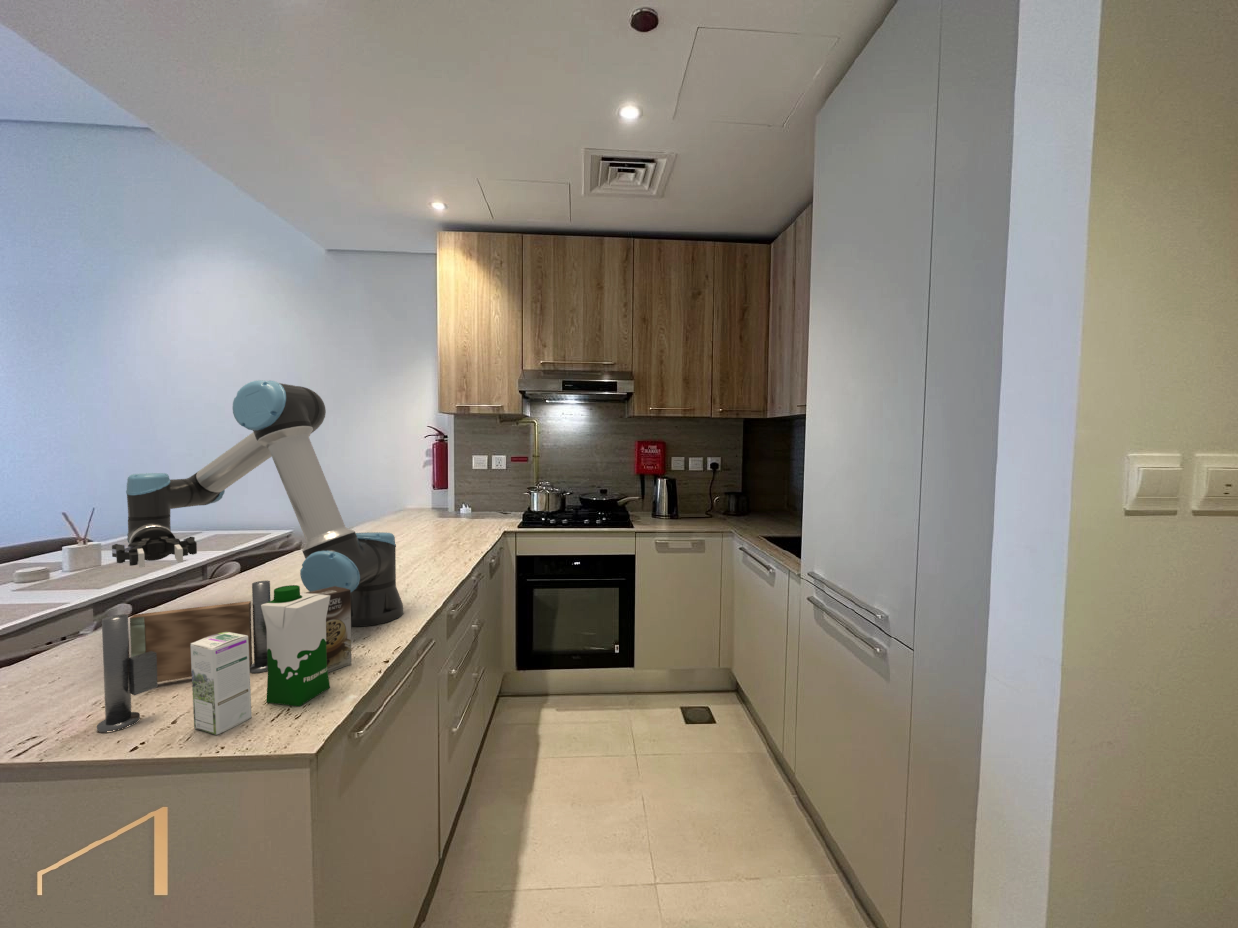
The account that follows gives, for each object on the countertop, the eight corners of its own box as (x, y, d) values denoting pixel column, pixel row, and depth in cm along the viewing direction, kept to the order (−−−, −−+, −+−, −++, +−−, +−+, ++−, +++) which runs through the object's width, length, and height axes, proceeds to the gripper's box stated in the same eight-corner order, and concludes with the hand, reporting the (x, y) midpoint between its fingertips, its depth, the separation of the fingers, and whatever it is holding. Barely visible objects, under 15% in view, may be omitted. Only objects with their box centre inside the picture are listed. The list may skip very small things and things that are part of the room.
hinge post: (268, 660, 105) (266, 578, 104) (283, 664, 103) (281, 580, 102) (242, 670, 100) (240, 584, 99) (257, 675, 98) (255, 587, 97)
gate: (252, 662, 101) (250, 600, 101) (250, 666, 99) (248, 603, 99) (136, 681, 93) (134, 614, 93) (132, 686, 91) (129, 617, 91)
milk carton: (298, 681, 95) (296, 580, 95) (338, 686, 94) (336, 583, 93) (257, 704, 87) (254, 594, 86) (300, 710, 85) (297, 597, 84)
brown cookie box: (307, 681, 95) (305, 600, 95) (291, 673, 99) (289, 595, 98) (353, 663, 103) (351, 588, 103) (336, 657, 107) (335, 584, 106)
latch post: (142, 709, 85) (138, 608, 85) (158, 715, 83) (155, 612, 83) (90, 728, 79) (86, 620, 79) (106, 736, 77) (102, 624, 77)
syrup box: (253, 717, 83) (251, 633, 82) (214, 736, 77) (212, 647, 77) (230, 711, 85) (228, 629, 84) (191, 730, 79) (188, 642, 78)
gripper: (203, 552, 119) (219, 568, 103) (96, 565, 106) (96, 585, 90) (203, 521, 119) (218, 533, 103) (95, 531, 106) (94, 545, 90)
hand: (161, 557), depth 97 cm, fingers open, 5 cm apart
